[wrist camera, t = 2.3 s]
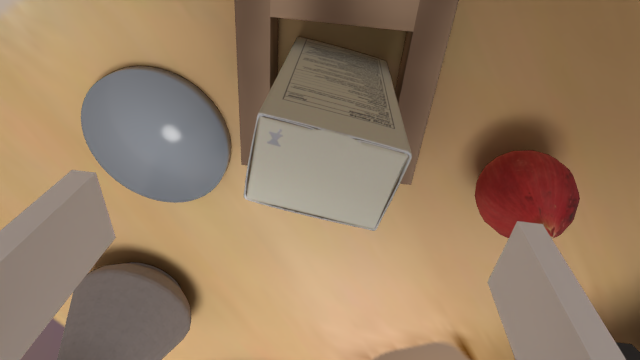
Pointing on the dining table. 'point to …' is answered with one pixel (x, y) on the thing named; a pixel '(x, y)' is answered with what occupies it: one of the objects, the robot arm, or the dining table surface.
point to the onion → (527, 192)
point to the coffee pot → (125, 315)
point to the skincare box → (329, 137)
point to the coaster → (156, 133)
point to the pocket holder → (358, 10)
